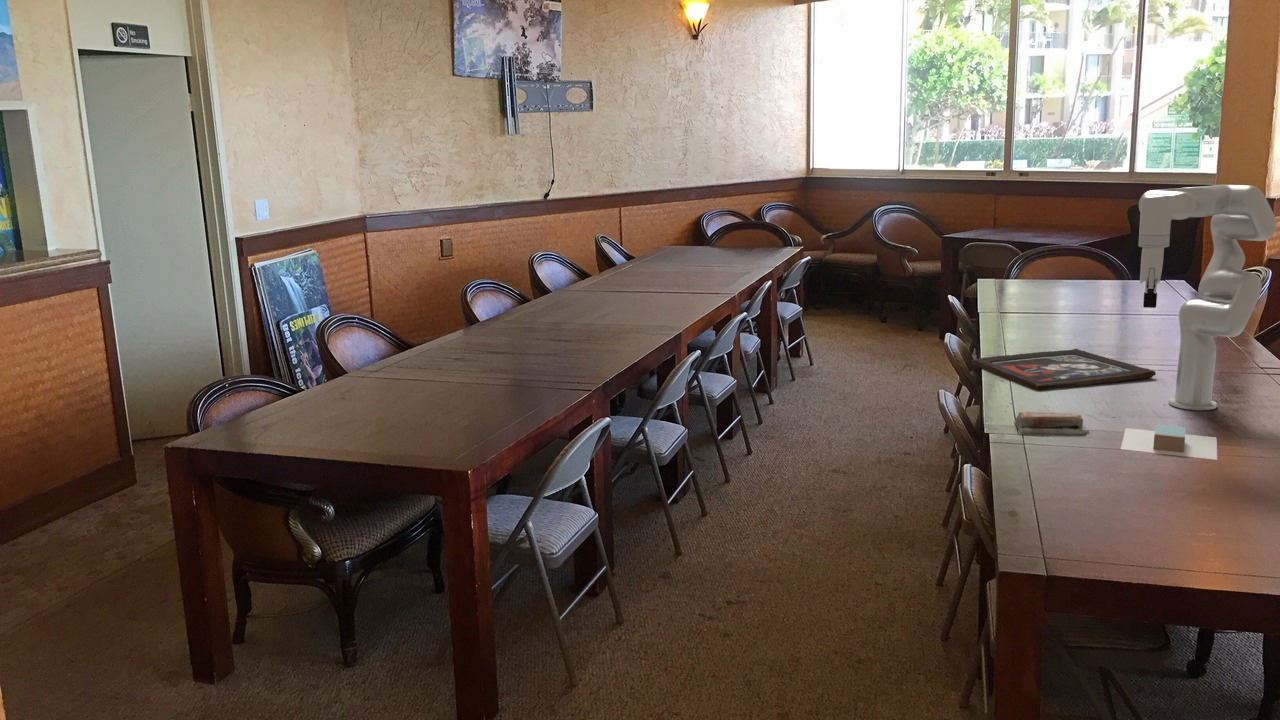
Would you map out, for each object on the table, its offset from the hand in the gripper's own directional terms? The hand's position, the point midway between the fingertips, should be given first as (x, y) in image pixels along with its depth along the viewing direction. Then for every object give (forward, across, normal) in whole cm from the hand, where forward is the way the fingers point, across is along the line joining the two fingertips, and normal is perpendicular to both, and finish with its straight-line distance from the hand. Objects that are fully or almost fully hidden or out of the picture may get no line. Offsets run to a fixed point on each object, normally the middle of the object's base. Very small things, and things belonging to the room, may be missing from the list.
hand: (1149, 306), depth 283 cm
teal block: (+30, +17, +7) cm, 35 cm away
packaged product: (+33, +16, -23) cm, 43 cm away
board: (+33, +20, +7) cm, 39 cm away
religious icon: (+35, -54, -26) cm, 69 cm away
